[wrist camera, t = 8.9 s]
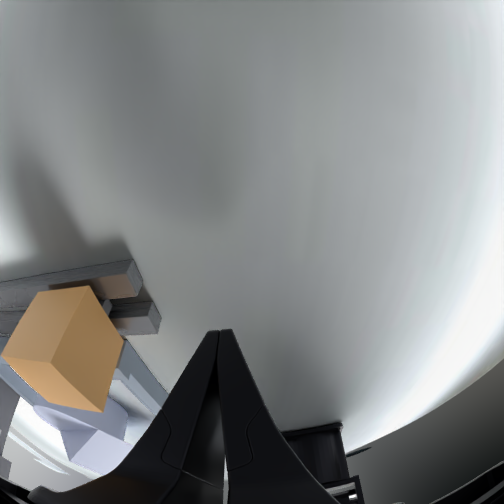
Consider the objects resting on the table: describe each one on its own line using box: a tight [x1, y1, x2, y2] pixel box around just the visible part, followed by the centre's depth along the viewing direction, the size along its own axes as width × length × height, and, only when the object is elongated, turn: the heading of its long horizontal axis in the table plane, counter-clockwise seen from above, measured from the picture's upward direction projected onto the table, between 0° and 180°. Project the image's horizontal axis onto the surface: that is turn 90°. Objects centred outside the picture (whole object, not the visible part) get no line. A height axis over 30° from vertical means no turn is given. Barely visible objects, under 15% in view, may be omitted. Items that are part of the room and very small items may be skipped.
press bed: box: [0, 336, 169, 479], centre depth 13 cm, size 26×12×12 cm, turn 98°
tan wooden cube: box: [1, 286, 124, 413], centre depth 10 cm, size 4×4×5 cm
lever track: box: [0, 259, 161, 336], centre depth 12 cm, size 17×4×1 cm, turn 98°
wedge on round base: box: [33, 393, 134, 475], centre depth 18 cm, size 9×7×13 cm
